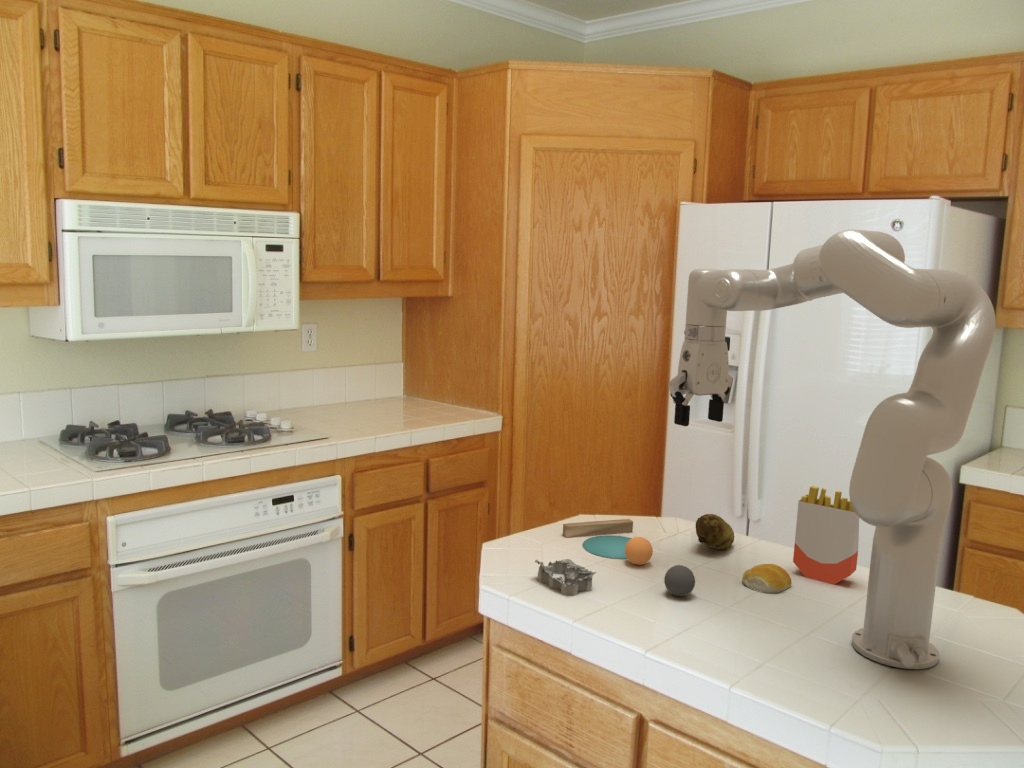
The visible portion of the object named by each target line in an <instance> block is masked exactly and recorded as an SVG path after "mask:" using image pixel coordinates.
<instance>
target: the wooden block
mask: <svg viewBox="0 0 1024 768" xmlns="http://www.w3.org/2000/svg"><path fill="white" fill-rule="evenodd" d="M633 527H634V521H633V520H632V519H630V518H624V519H621V518H620V519H610V520H598V521H597V520H596V521H582V522H570V523H566V522H565V523H563V524H562V535H563V537H565V538H566V539H567V538H568V539H569V538H579V537H581V538H582V537H590V536H591V537H592V536H593V537H595V536H604V535H615V534H617V533H618V534H629V532H631V533H633V531H634V528H633ZM618 534H617V535H618Z"/></svg>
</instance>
